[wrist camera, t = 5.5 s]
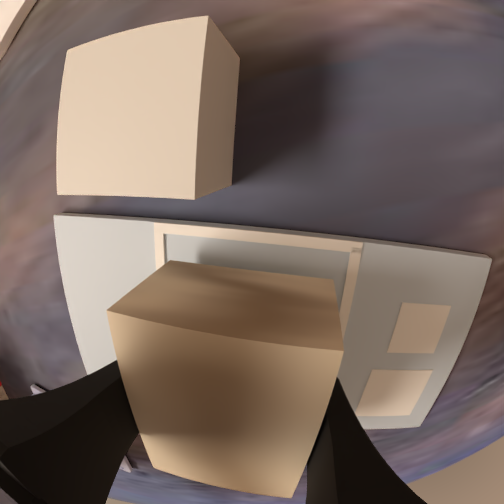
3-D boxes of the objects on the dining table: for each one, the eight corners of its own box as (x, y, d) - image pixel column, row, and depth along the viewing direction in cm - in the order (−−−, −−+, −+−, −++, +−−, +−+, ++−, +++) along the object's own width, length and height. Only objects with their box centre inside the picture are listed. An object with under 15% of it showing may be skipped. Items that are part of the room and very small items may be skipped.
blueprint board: (92, 368, 16) (86, 375, 15) (61, 212, 13) (52, 215, 12) (417, 419, 13) (419, 427, 12) (485, 254, 10) (493, 259, 9)
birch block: (184, 408, 13) (153, 467, 9) (170, 259, 11) (106, 310, 7) (299, 429, 12) (291, 498, 8) (333, 279, 10) (344, 350, 6)
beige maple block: (121, 181, 12) (57, 194, 8) (128, 71, 10) (67, 50, 6) (232, 185, 11) (194, 199, 7) (240, 59, 9) (208, 15, 6)
